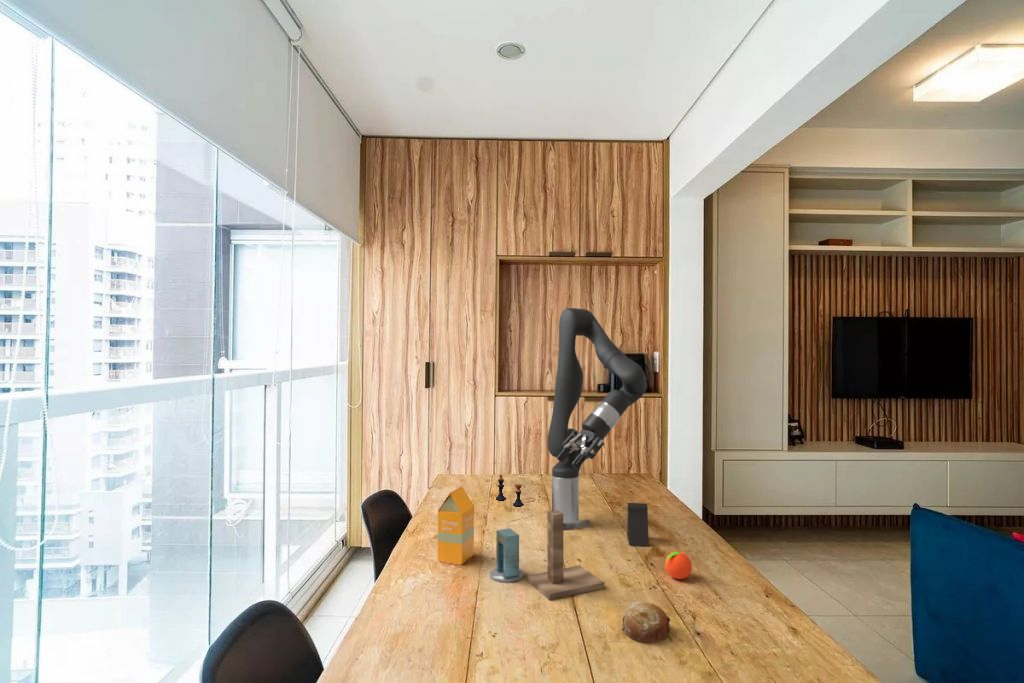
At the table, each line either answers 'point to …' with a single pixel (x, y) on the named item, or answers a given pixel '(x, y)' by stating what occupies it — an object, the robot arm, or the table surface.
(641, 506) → the phone stand
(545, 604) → the table surface
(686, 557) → the clementine
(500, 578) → the coaster
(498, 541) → the c link
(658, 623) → the bread roll
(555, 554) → the stand
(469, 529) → the orange juice
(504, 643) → the table surface
